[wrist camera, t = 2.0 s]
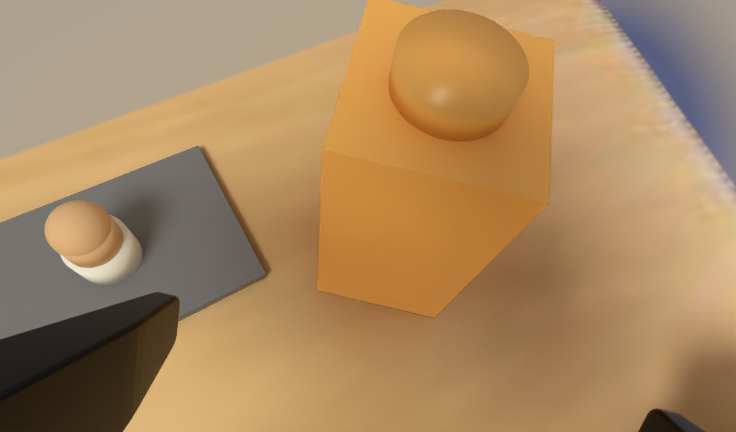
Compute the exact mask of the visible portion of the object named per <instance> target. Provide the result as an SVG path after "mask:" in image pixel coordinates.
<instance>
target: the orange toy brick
mask: <svg viewBox="0 0 736 432" xmlns="http://www.w3.org/2000/svg"><path fill="white" fill-rule="evenodd" d="M554 41H555V40H551V39H547V38H543V37H538V36H534V35H530V34H526V33H522V32H518V31H514V30H509V29H505V28H503V27H502V26H500V25H499V24H497V23H496V22H494V21H492V20H490V19H488V18H486V17H483V16H481V15H478V14H475V13H471V12H467V11H462V10H437V11H431V10H427V9H422V8H418V7H414V6H410V5H406V4H402V3H398V2H393V1H389V0H368V3H367V6H366V9H365V13H364V16H363V19H362V22H361V25H360V29H359V32H358V35H357V38H356V42H355V45H354V48H353V51H352V55H351V58H350V61H349V64H348V68H347V71H346V74H345V77H344V81H343V84H342V87H341V90H340V94H339V97H338V100H337V103H336V107H335V110H334V113H333V116H332V120H331V123H330V126H329V129H328V133H327V136H326V139H325V142H324V146H323V149H322V172H321V199H320V227H319V254H318V281H317V290H318V291H322V292H327V293H331V294H335V295H339V296H343V297H348V298H352V299H356V300H360V301H365V302H369V303H373V304H377V305H382V306H386V307H390V308H394V309H398V310H403V311H407V312H411V313H415V314H420V315H424V316H428V317H432V318H434V317H435V316H436V315H437V314H438V313H439V312H440V311H441V310H442V309H443V308H444V307H445V306H446V305H447V304H448V303H449V302H450V301H451V300H452V299H453V298H454V297H455V296H456V295H457V294H458V293H459V292H460V291H462V290H463V289H464V288H465V287H466V286H467V285H468V284H469V283H470V282H471V281H472V280H473V279H474V278H475V277H476V276H477V275H478V274H479V273H480V272H481V271H482V270H483V269H484V268H485V267H486V266H487V265H488V264H489V263H490V262H491V261H492V260H493V259H494V258H495V257H496V256H497V255H498V254H499V253H500V252H501V251H502V250H503V249H504V248H505V247H506V246H507V245H508V244H509V243H510V242H511V241H512V240H513V239H514V238H515V237H516V236H517V235H518V234H519V233H520V232H521V231H522V230H523V229H524V228H525V227H526V226H527V225H528V224H529V223H530V222H531V221H532V220H533V219H534V218H535V217H536V216H537V215H538V214H539V213H540V212H541V211H542V210H543V209H544V208H545V207H546V206H547V205H548V204H549V195H550V164H551V133H552V103H553V72H554Z"/></svg>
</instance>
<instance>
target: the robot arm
mask: <svg viewBox="0 0 736 432" xmlns="http://www.w3.org/2000/svg"><path fill="white" fill-rule="evenodd" d="M179 309H180V301H179V298H178V297H177V296H175V295H171V294H167V293H162V292H153V293H150V294H147V295H144V296H140V297H137V298H134V299H130V300H127V301H124V302H121V303H117V304H114V305H111V306H108V307H104V308H101V309H98V310H94V311H91V312H88V313H85V314H81V315H78V316H75V317H71V318H68V319H65V320H62V321H58V322H55V323H52V324H48V325H45V326H42V327H39V328H35V329H32V330H29V331H26V332H22V333H19V334H16V335H12V336H9V337H6V338H3V339H0V432H123V431H124V429H125V428H126V426H127V425H128V423H129V422H130V420H131V419H132V417H133V416H134V414H135V412H136V411H137V409H138V407H139V406H140V404H141V402H142V400H143V399H144V397H145V395H146V393H147V391H148V390H149V388H150V386H151V384H152V383H153V381H154V379H155V377H156V376H157V374H158V372H159V370H160V369H161V367H162V365H163V363H164V362H165V360H166V358H167V356H168V354H169V353H170V351H171V349H172V347H173V345H174V343H175V340H176V336H177V328H178V318H179ZM638 432H705V431H703V430H702V429H700V428H699V427H697V426H696V425H694V424H693V423H691V422H690V421H689V420H687V419H686V418H684V417H683V416H681V415H680V414H678V413H675V412H671V411H667V410H662V409H657V408H656V409H652V410H651V411H650V412H649V413H648V414H647V416H646V418H645V420H644V422H643V424H642V426H641V428H640V430H639V431H638Z"/></svg>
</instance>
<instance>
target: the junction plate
mask: <svg viewBox="0 0 736 432" xmlns="http://www.w3.org/2000/svg"><path fill="white" fill-rule="evenodd" d="M265 277H267V276H266V273H265V271H264V269H263V267H262V265H261V263H260V261H259V259H258V258H257V256H256V254H255V252H254V250H253V248H252V246H251V244H250V242H249V241H248V239H247V237H246V235H245V233H244V231H243V229H242V227H241V226H240V224H239V222H238V220H237V218H236V216H235V214H234V212H233V210H232V209H231V207H230V205H229V203H228V201H227V199H226V197H225V195H224V193H223V192H222V190H221V188H220V186H219V184H218V182H217V180H216V178H215V176H214V175H213V173H212V171H211V169H210V167H209V165H208V163H207V161H206V160H205V158H204V156H203V154H202V152H201V150H200V148H199V146H196V147H193V148H191V149H188V150H186V151H183V152H180V153H178V154H175V155H173V156H170V157H168V158H165V159H163V160H160V161H157V162H155V163H152V164H150V165H147V166H145V167H142V168H140V169H137V170H134V171H132V172H129V173H127V174H124V175H122V176H119V177H116V178H114V179H111V180H109V181H106V182H104V183H101V184H99V185H96V186H93V187H91V188H88V189H86V190H83V191H81V192H78V193H76V194H73V195H70V196H68V197H65V198H63V199H60V200H58V201H55V202H53V203H50V204H47V205H45V206H42V207H40V208H37V209H35V210H32V211H30V212H27V213H24V214H22V215H19V216H17V217H14V218H12V219H9V220H7V221H4V222H1V223H0V339H3V338H6V337H9V336H12V335H16V334H19V333H22V332H26V331H29V330H32V329H35V328H39V327H42V326H45V325H48V324H52V323H55V322H58V321H62V320H65V319H68V318H71V317H75V316H78V315H81V314H85V313H88V312H91V311H94V310H98V309H101V308H104V307H108V306H111V305H114V304H117V303H121V302H124V301H127V300H130V299H134V298H137V297H140V296H144V295H147V294H150V293H153V292H162V293H167V294H171V295H175V296H177V297H178V298H179V301H180V309H179V318H178V321H180V320H182V319H184V318H186V317H188V316H190V315H192V314H194V313H196V312H198V311H200V310H202V309H204V308H206V307H208V306H210V305H211V304H213V303H215V302H217V301H219V300H221V299H223V298H225V297H227V296H229V295H231V294H233V293H235V292H237V291H239V290H241V289H243V288H245V287H247V286H249V285H251V284H253V283H255V282H257V281H259V280H261V279H263V278H265Z"/></svg>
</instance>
